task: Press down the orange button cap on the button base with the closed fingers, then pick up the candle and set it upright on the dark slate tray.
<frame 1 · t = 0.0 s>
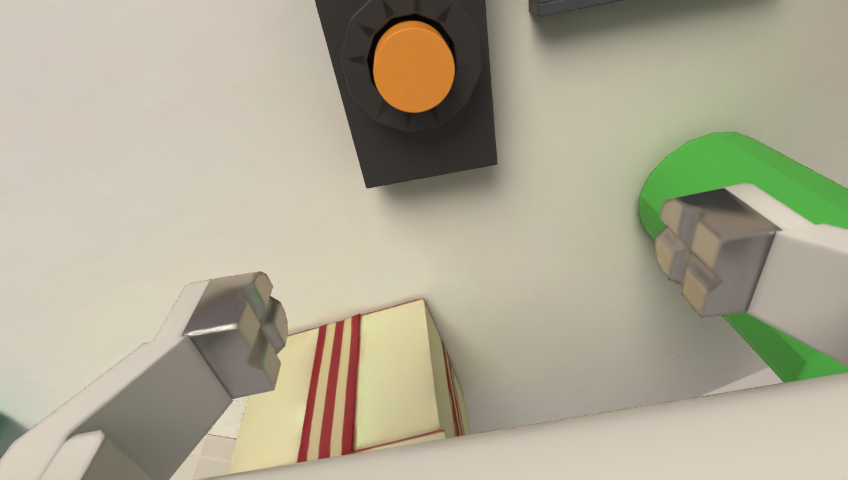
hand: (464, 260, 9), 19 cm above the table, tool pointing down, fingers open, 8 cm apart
button base: (407, 43, 25), on the table
orange button cap: (413, 67, 20), point 6 cm above the table, slide at 0.1 cm
bottle: (692, 184, 32), on the table
gift box: (384, 375, 41), on the table
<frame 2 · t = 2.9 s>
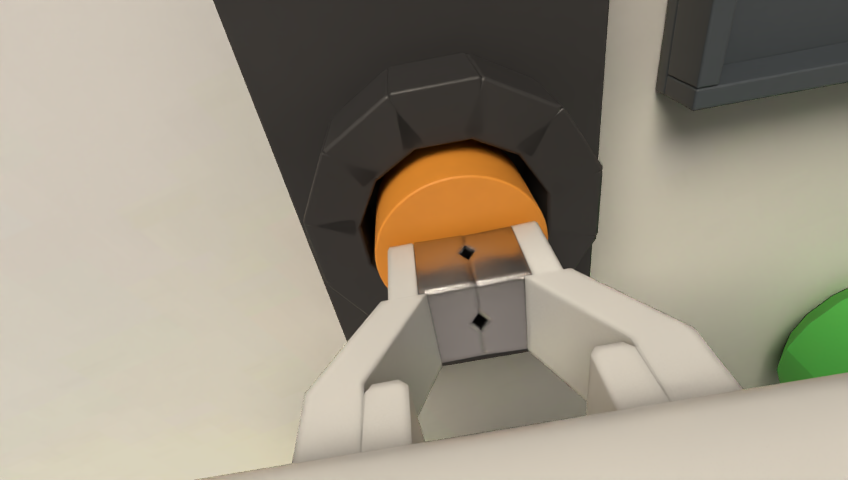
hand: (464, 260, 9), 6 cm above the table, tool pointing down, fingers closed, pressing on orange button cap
button base: (435, 144, 14), on the table
orange button cap: (455, 227, 10), point 5 cm above the table, slide at -0.7 cm, touching gripper
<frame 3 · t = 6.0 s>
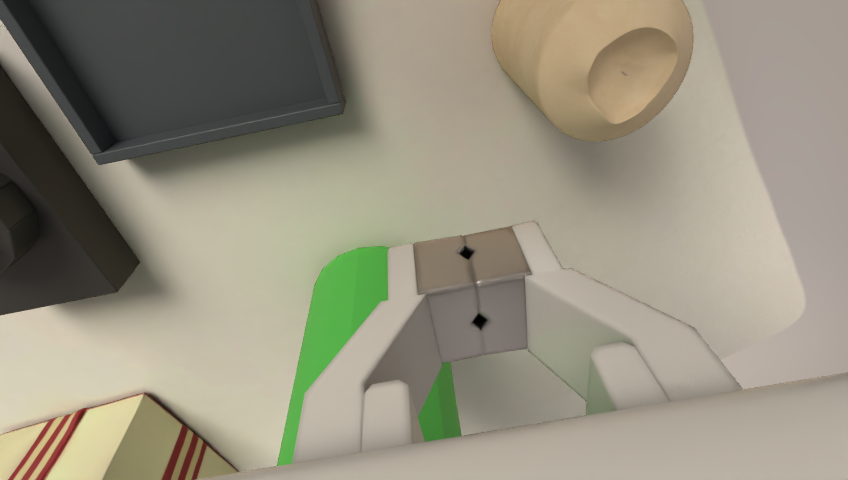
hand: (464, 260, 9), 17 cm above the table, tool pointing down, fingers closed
button base: (7, 181, 25), on the table
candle: (541, 27, 23), on the table
bottle: (377, 286, 32), on the table
gift box: (148, 455, 41), on the table
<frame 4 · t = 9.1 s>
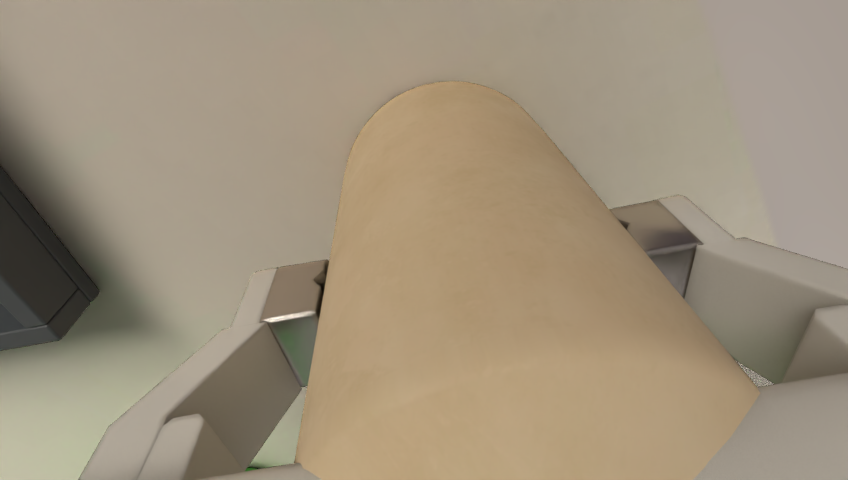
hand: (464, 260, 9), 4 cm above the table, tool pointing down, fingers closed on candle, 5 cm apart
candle: (445, 177, 12), on the table, touching gripper
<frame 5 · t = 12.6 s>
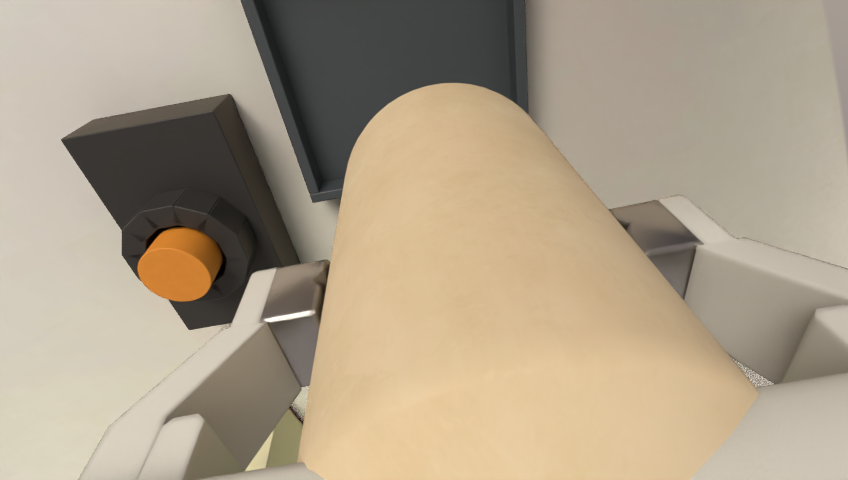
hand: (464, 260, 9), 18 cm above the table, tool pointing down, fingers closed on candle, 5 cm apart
button base: (215, 212, 28), on the table
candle: (446, 178, 12), point 14 cm above the table, touching gripper
orange button cap: (182, 264, 24), point 6 cm above the table, slide at 0.1 cm
soap tray: (398, 61, 24), on the table
gift box: (262, 455, 45), on the table
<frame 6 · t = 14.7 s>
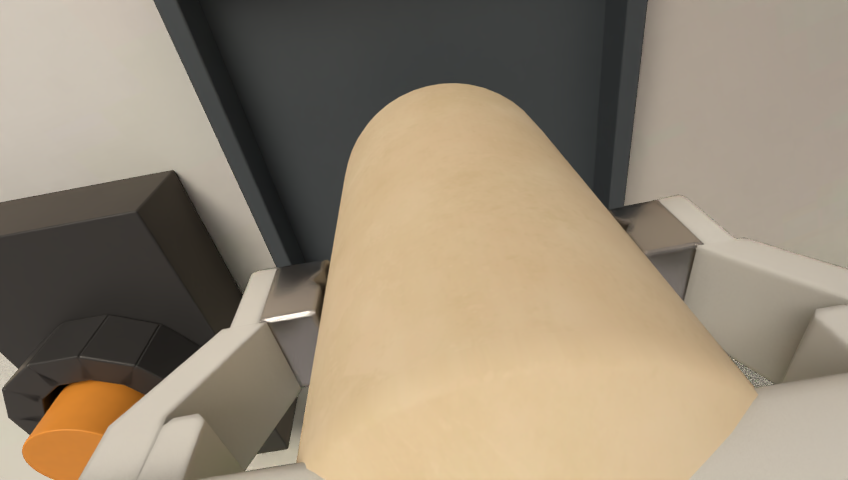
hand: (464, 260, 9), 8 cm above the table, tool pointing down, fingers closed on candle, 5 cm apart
button base: (164, 320, 20), on the table
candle: (446, 179, 12), point 4 cm above the table, touching gripper
orange button cap: (100, 432, 16), point 6 cm above the table, slide at 0.1 cm
soap tray: (427, 121, 16), on the table
when the fingers open (4 cm above the table, at t = 16.2 s): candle stays where it is, resting on soap tray.
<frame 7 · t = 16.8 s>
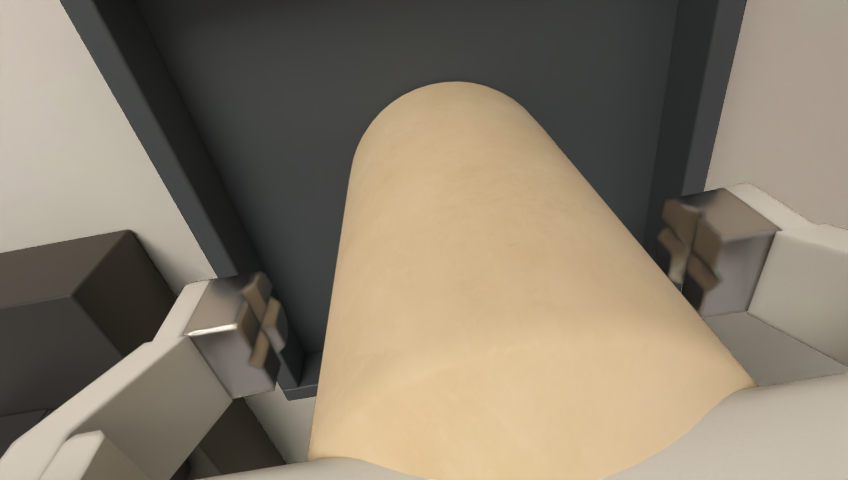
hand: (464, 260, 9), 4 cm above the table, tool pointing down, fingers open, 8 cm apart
button base: (129, 392, 17), on the table
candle: (448, 175, 13), resting on soap tray
soap tray: (443, 169, 13), on the table
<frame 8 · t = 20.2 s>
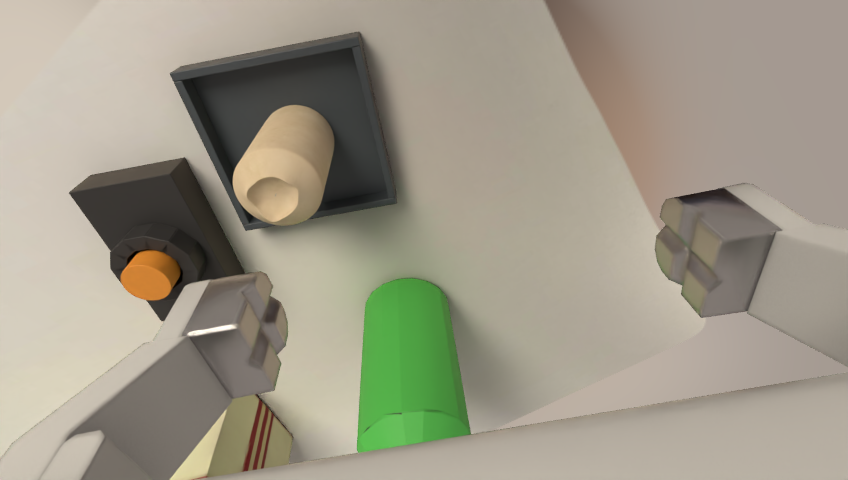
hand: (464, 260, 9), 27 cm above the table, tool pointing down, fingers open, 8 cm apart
button base: (178, 236, 39), on the table
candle: (300, 137, 35), resting on soap tray
orange button cap: (151, 275, 35), point 6 cm above the table, slide at 0.1 cm
bottle: (406, 303, 46), on the table
soap tray: (299, 135, 35), on the table
gift box: (228, 423, 56), on the table
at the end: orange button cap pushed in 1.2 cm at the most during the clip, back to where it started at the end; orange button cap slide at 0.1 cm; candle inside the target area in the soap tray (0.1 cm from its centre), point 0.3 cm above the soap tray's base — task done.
